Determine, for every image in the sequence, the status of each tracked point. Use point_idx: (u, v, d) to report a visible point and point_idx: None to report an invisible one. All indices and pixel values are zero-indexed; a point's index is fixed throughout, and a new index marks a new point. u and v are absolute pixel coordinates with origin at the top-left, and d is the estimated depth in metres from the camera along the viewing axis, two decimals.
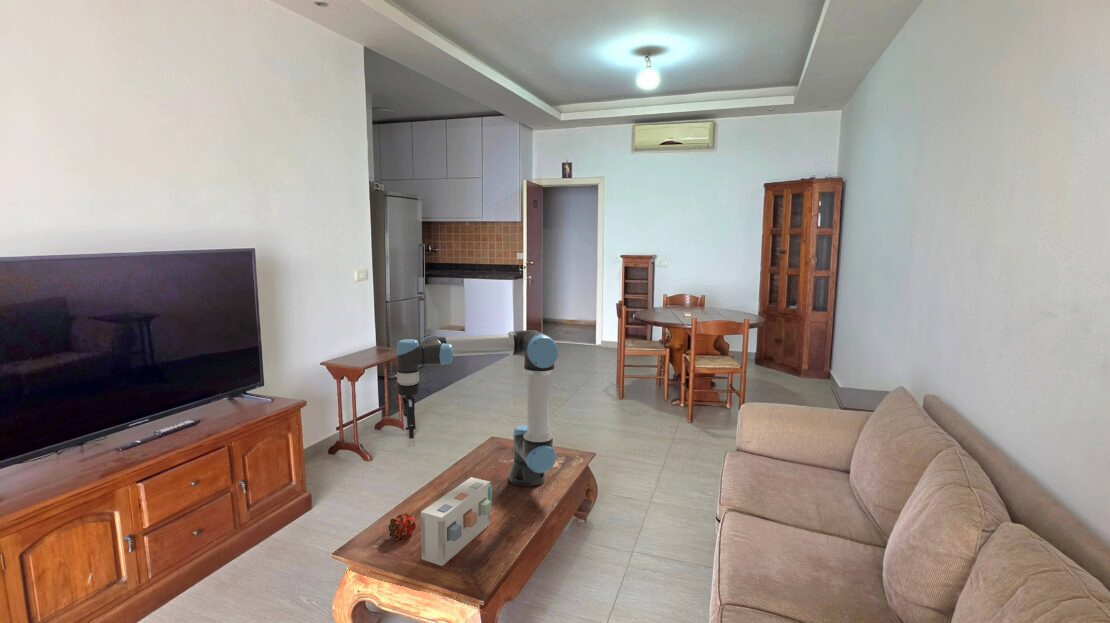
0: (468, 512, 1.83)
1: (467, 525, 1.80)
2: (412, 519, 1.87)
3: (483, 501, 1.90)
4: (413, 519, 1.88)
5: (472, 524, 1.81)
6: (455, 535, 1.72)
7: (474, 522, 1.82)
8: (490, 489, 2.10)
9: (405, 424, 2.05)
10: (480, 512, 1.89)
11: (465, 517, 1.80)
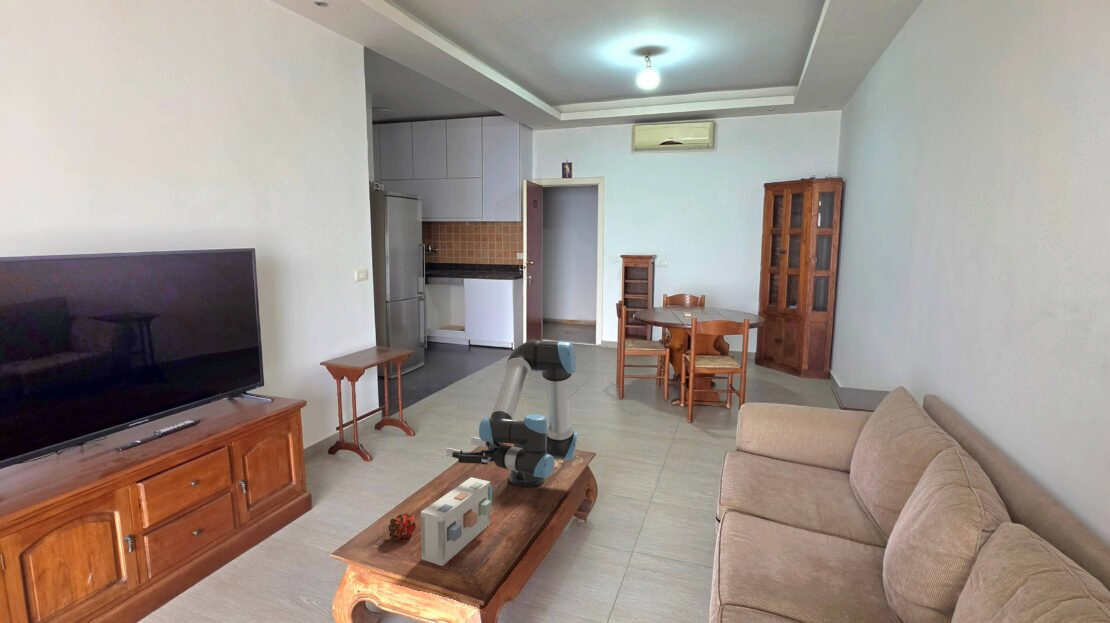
0: (468, 512, 1.83)
1: (467, 525, 1.80)
2: (412, 519, 1.87)
3: (483, 501, 1.90)
4: (413, 519, 1.88)
5: (472, 524, 1.81)
6: (455, 535, 1.72)
7: (474, 522, 1.82)
8: (490, 489, 2.10)
9: None
10: (480, 512, 1.89)
11: (465, 517, 1.80)
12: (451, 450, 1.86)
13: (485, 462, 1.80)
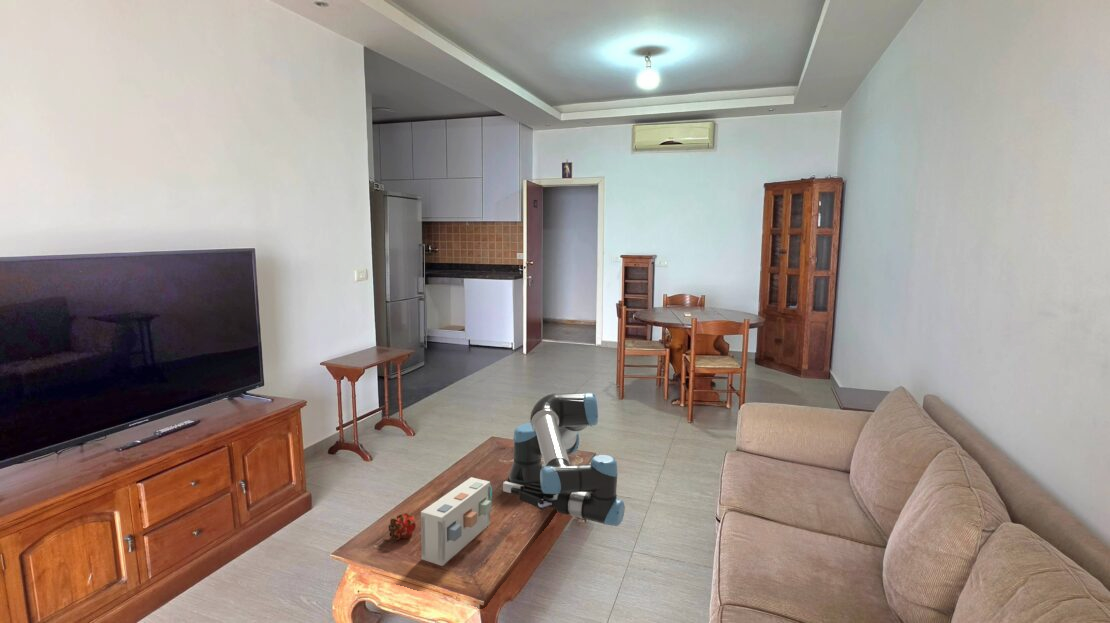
0: (468, 512, 1.83)
1: (467, 525, 1.80)
2: (412, 519, 1.87)
3: (483, 501, 1.90)
4: (413, 519, 1.88)
5: (472, 524, 1.81)
6: (455, 535, 1.72)
7: (474, 522, 1.82)
8: (490, 489, 2.10)
9: None
10: (480, 512, 1.89)
11: (465, 517, 1.80)
12: (509, 485, 1.73)
13: (540, 507, 1.62)
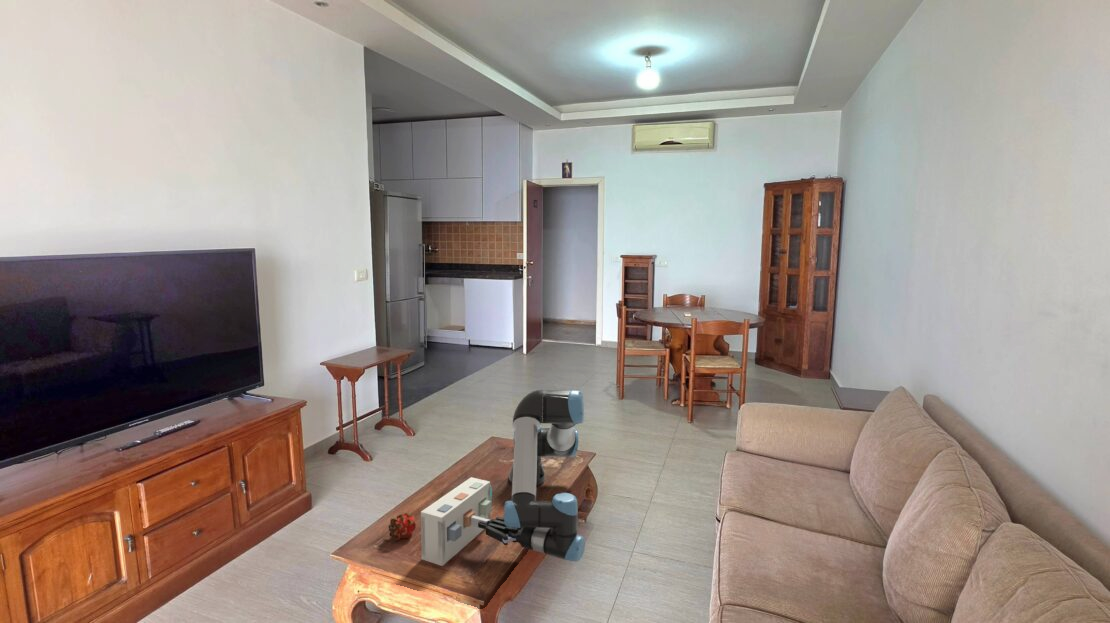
0: None
1: (465, 524, 1.81)
2: (412, 519, 1.87)
3: (483, 501, 1.90)
4: (413, 519, 1.88)
5: (470, 523, 1.81)
6: (455, 535, 1.72)
7: None
8: (490, 489, 2.10)
9: None
10: (480, 512, 1.89)
11: (463, 516, 1.81)
12: (476, 520, 1.80)
13: (504, 542, 1.69)
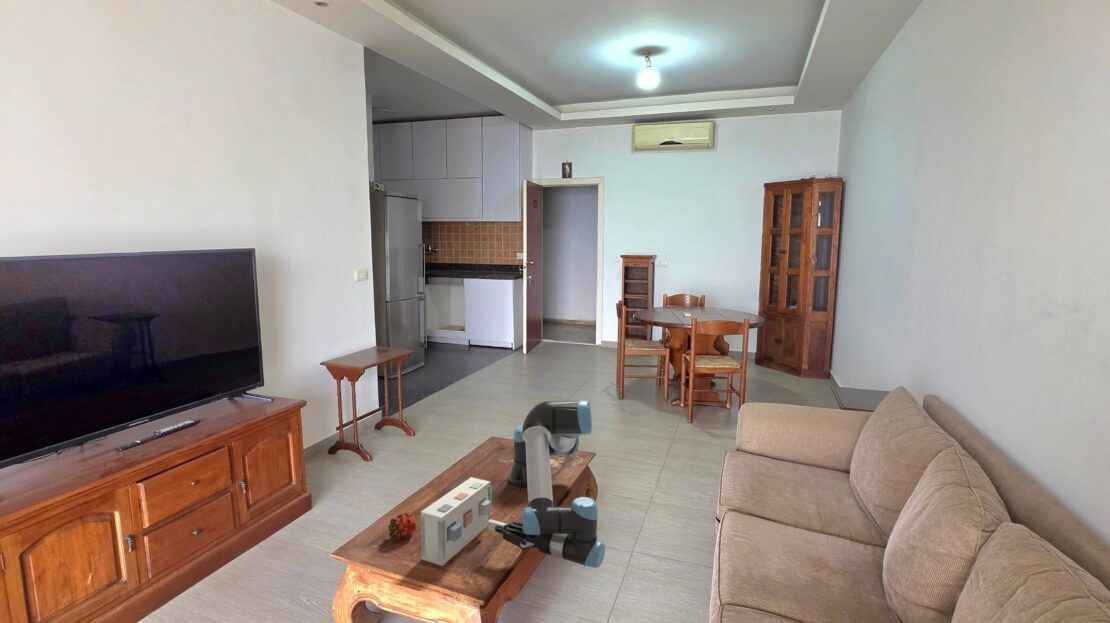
0: None
1: None
2: (412, 519, 1.87)
3: (483, 501, 1.90)
4: (413, 519, 1.88)
5: (467, 523, 1.81)
6: (455, 535, 1.72)
7: (469, 521, 1.82)
8: (490, 489, 2.10)
9: None
10: (480, 512, 1.89)
11: None
12: (493, 524, 1.76)
13: (522, 547, 1.66)
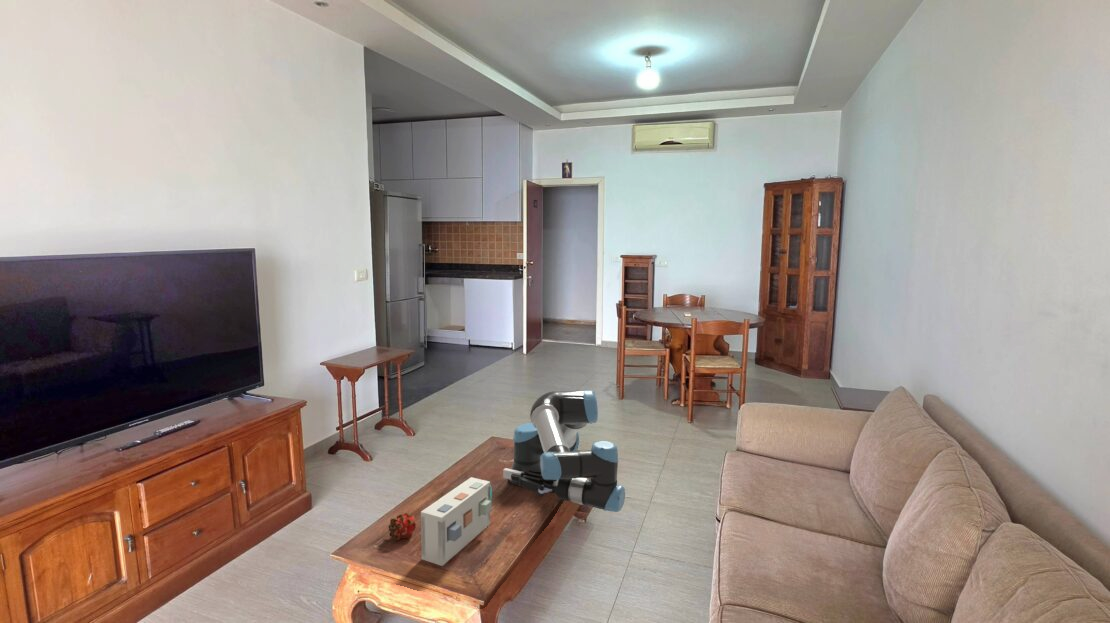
0: None
1: None
2: (412, 519, 1.87)
3: (483, 501, 1.90)
4: (413, 519, 1.88)
5: (467, 523, 1.81)
6: (455, 535, 1.72)
7: (469, 521, 1.82)
8: (490, 489, 2.10)
9: None
10: (480, 512, 1.89)
11: None
12: (509, 472, 1.72)
13: (540, 493, 1.62)
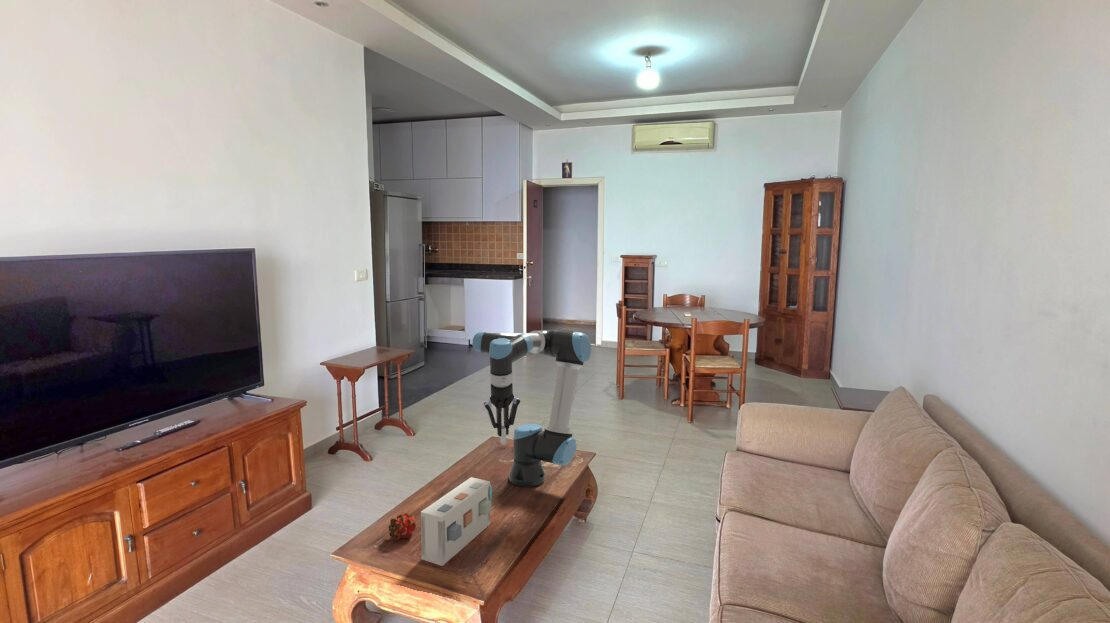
0: None
1: None
2: (412, 519, 1.87)
3: (483, 501, 1.90)
4: (413, 519, 1.88)
5: (467, 523, 1.81)
6: (455, 535, 1.72)
7: (469, 521, 1.82)
8: (490, 489, 2.10)
9: None
10: (480, 512, 1.89)
11: None
12: (500, 436, 1.97)
13: (485, 406, 1.89)
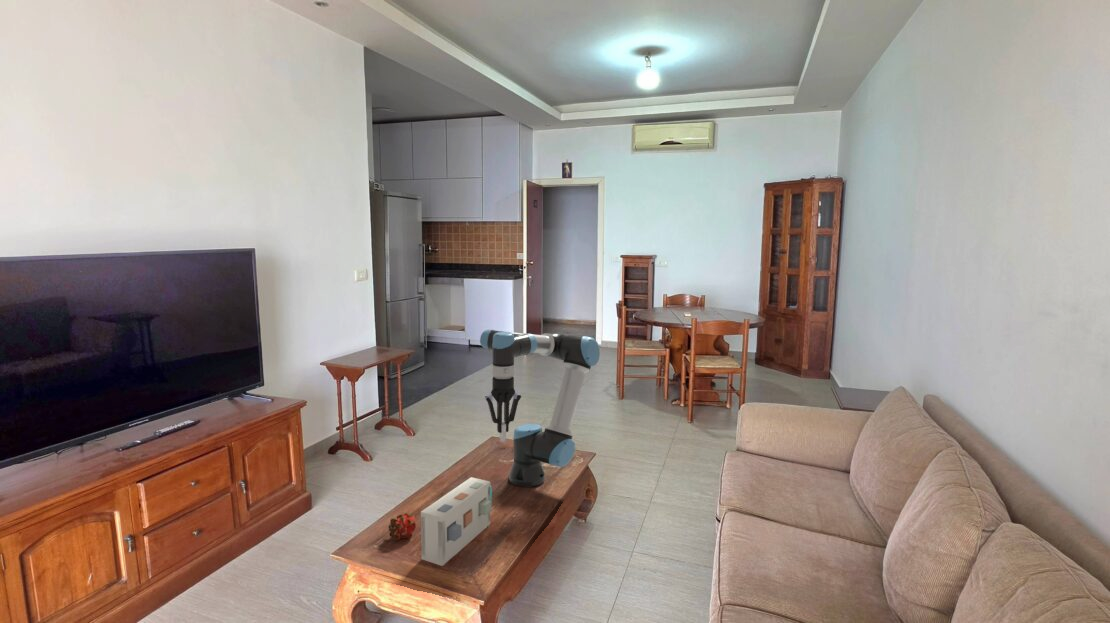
0: None
1: None
2: (412, 519, 1.87)
3: (483, 501, 1.90)
4: (413, 519, 1.88)
5: (467, 523, 1.81)
6: (455, 535, 1.72)
7: (469, 521, 1.82)
8: (490, 489, 2.10)
9: None
10: (480, 512, 1.89)
11: None
12: (500, 434, 1.97)
13: (486, 399, 1.92)
